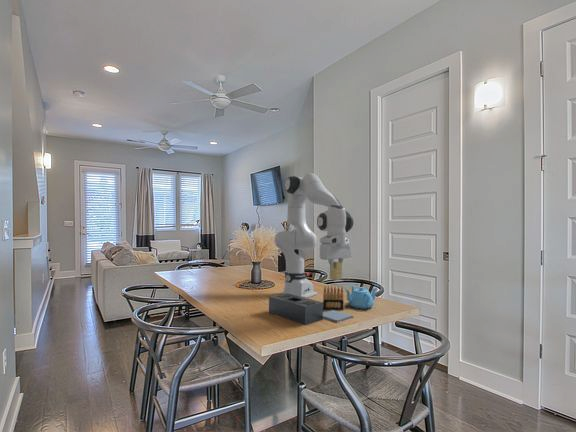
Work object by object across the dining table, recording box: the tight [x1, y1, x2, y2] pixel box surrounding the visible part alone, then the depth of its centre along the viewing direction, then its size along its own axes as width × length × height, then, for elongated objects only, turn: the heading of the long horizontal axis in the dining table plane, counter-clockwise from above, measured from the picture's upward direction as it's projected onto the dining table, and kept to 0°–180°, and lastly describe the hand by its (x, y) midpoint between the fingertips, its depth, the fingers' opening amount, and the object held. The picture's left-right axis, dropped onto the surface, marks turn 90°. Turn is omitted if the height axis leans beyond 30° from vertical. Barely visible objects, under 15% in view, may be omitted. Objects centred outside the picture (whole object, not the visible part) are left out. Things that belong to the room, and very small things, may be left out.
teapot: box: [344, 284, 378, 310], centre depth 174 cm, size 15×15×10 cm
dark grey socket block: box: [268, 293, 324, 326], centre depth 153 cm, size 12×24×8 cm, turn 44°
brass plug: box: [329, 260, 343, 281], centre depth 153 cm, size 4×4×8 cm
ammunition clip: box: [322, 285, 345, 311], centre depth 167 cm, size 11×2×12 cm, turn 91°
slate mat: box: [323, 310, 354, 323], centre depth 153 cm, size 12×12×1 cm
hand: (335, 268), depth 153 cm, fingers closed on brass plug, 4 cm apart
